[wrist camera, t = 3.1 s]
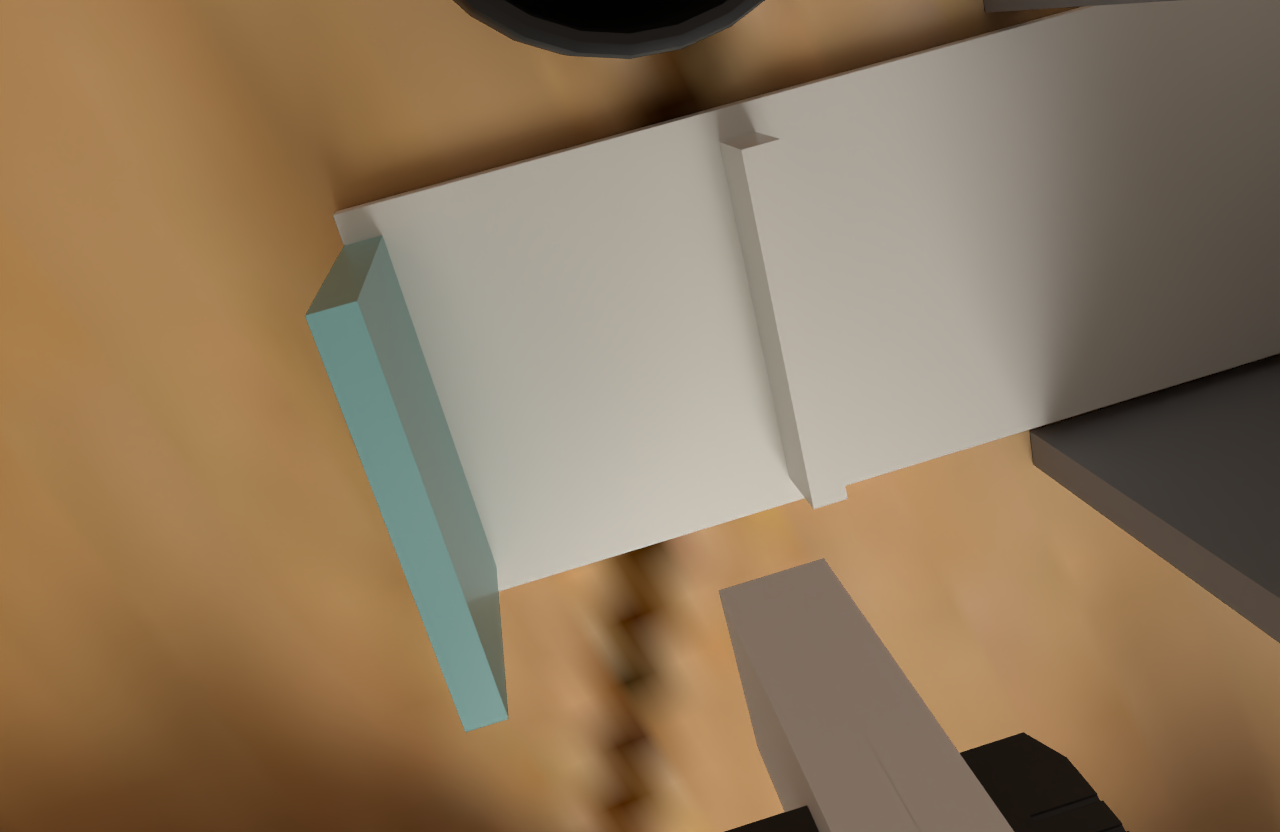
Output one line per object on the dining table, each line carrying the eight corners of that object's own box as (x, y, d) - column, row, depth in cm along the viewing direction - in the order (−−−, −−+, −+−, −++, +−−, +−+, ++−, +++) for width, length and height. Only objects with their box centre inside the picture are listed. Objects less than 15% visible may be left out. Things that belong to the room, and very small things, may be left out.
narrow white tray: (471, 589, 30) (476, 760, 23) (335, 211, 26) (289, 275, 19) (1437, 295, 33) (1717, 366, 25) (1459, -97, 28) (1804, -146, 21)
